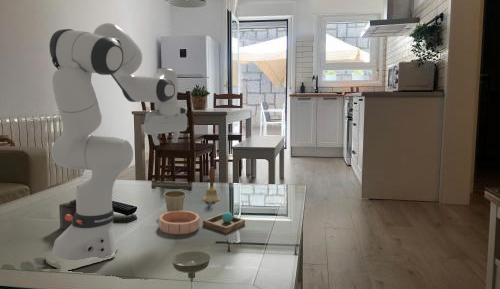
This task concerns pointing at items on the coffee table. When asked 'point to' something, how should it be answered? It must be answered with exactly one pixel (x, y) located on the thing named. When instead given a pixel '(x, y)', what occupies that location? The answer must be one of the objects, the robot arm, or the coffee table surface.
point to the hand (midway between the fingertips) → (166, 143)
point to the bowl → (179, 222)
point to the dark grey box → (64, 210)
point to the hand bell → (211, 189)
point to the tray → (223, 223)
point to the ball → (227, 217)
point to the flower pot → (174, 200)
